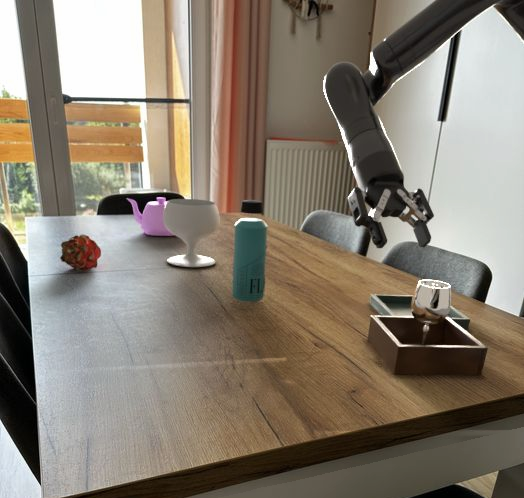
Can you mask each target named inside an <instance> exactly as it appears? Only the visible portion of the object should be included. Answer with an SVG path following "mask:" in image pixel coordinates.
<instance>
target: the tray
mask: <svg viewBox="0 0 524 498" xmlns="http://www.w3.org/2000/svg"><path fill="white" fill-rule="evenodd" d="M412 297H413V294H378V293H376V294H375V293H370V297H369V305H370V306H371V307H372V308H373V310H374V311H376V312H377V314H378V315H379V316H413V315H412V313H411V301H412ZM447 317H449V318H450V319H451V320H453V321H454V322H455V323H456V324H458V325H459V326H460V327H462V328H463V329H464V330H465V331H468V330H469V328H470V323H471V319H470V318H469V317H468V316H466V315H465V314H464V313H463V312H461V311H460V310H459V309H457V308H455V306H452V305H451V306H450V310H449V313H448V316H447Z"/></svg>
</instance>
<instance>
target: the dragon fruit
mask: <svg viewBox="0 0 524 498" xmlns="http://www.w3.org/2000/svg"><path fill="white" fill-rule="evenodd" d="M60 247H61V256H60V257H59V258H60V261H61V262H62V263H65V264H66V265H68V266H69V267H71V268H73V269H74V270H76V271H78V272H83V271H85V270H86V269H87V268H89V269H96V268H97V267H98V259H99V258H101V255H102V250H101V248H100V246H99V245H98V244H97V242H96V241H95V240H94V239H92V238H90V236H89V235H87V234H80V235H74V236H72V237H70V238H69V239H68V240H64V241H62V242H61V244H60Z"/></svg>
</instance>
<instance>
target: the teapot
mask: <svg viewBox="0 0 524 498" xmlns="http://www.w3.org/2000/svg"><path fill="white" fill-rule="evenodd" d="M125 199H126V200H127V201H128V202H130V204H131V206H132V211H133V212H132V213H133V217H134V219H135V221H136V222H137V223H138V224H139V225H140V227H141V229H142V231H143V232H144V234H145V235H148V236H158V237H159V236H160V237H173V236H175V235H174V234H172V233H171V232H169V231H168V230H167V229H166V228H165V226H164V224H163V212H164V208H165V205H166V203H167V200H166V197H163V196H162V197H160V196H159V197H156V200H155V201H148V202H147V203H146V205H145V207H144V209H143V212H142V213H141V212H140V211H139V206H138V203H137V201H136V200H134V199H132V198H128V197H127V198H125Z"/></svg>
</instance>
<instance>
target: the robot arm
mask: <svg viewBox="0 0 524 498" xmlns="http://www.w3.org/2000/svg"><path fill="white" fill-rule="evenodd" d="M492 7H493V8H494V9H495V10H496V12H497V13H498V14H499V15H500V16H501V17H502V18H503V19H504V21H505V22H506V23H507V24H508V25H509V26H510V27H511V28H512V30H514V32H515V33H516V34H517V36H518V37H519V38H520V40H521V41H522V42H523V43H524V0H433V1H432V2H431V3H429V4H428V5H427V6H426V7H424V8H423V9H422V10H420V11H418V13H416V14H415V15H414V16H412V17H411V18H410V19H408V20H407V21H405V22H404V23H403V24H401V25H400V26H399V27H398V28H397V29H395V30H394V31H393V32H391V33H390V34H388V35H387V36H386V37H385V38H383V39H382V40H381V41H380V42H378V43H377V44H376V45H375V46H374V47H372V49H371V51H370V65H369V68H368V69H367V70H366V71H365V72H364V73H362V71H361V69H360V68H359V67H358V66H357V65H356V64H355V63H352V62H350V61H339V62H337V63H335V64H333V65H332V66H331V67H330V68H329V69H328V70H327V71H326V74H325V76H324V80H323V92H324V95H325V98H326V100H327V103H328V105H329V107H330V109H331V111H332V113H333V115H334V118H335V120H336V122H337V124H338V127H339V129H340V132H341V133H340V134H341V137H342V140H343V143H344V145H345V148H346V151H347V155H348V161H349V164H350V167H351V170H352V173H353V176H354V178H355V181H356V184H357V186H355V187H354V188H353V190H352V191H351V193H350V194H349V195H348V197H347V202H348V205H349V208H350V212H351V216H352V219H353V223H354V225H355V226H356V227H358V228H360V227H361V226H362V227H364V228H365V229H366V230H368V233H369V235H370V239H371V241H372V243H373V244H374V246H375V247H376V249H384V247H385V246H386V245H387V243H388V238H387V235H386V233H385V230H384V227H383V224H382V222H381V221H379V220H380V219H381V218H388V217H391V218H398V219H399V220H400V221H401V222H403V223H407V224H408V225H409V226H411V227H412V229H413V230H412V231H413V233H414V235H415V238H416V241H417V243H418V246H419V248H425V247H427V246H428V245H429V244H430V243H431V240H432V235H431V232H430V229H429V227H428V223H429V222H430V221H431V220H432V219H433V218H434V217H435V214H434V212H433V210H432V207H431V205H430V203H429V201H428V199H427V197H426V195H425V193H424V190H423V189H422V188H417V189H416V190H415V191H409V190H408V189H407V188H406V186H405V175H404V172H403V170H402V167H401V163H400V161H399V160H398V156H397V154H396V152H395V148H394V147H393V144H392V142H391V140H390V139H389V137H388V136H387V134H386V130H385V128H384V126H383V123H382V121H381V118H380V117H379V114H378V112H377V111H376V109H375V106H376V105H377V104H378V103H379V102H380V100H382V98H383V97H384V96H385V95H386V94H387V93H388V92H389V91H390V89H391V88H392V87H393V85H395V83H396V82H398V81H399V80H400V79H402V78H403V77H405V76H406V75H407V74H409V73H410V72H411V71H413V70H415V68H417V67H418V66H420V65H421V64H423V63H424V62H425V61H427V59H429V58H430V57H431V56H433V54H435V53H436V52H437V51H438V50H439V49H441V48H442V47H443V46H444V45H445V44H446V43H447V42H448V41H450V40H451V38H453V37H454V36H455V35H456V34H457V33H458V32H460V31H461V30H462V29H463V28H464V27H466V26H467V25H468V24H469V23H471V22H472V21H473V20H474V19H476V18H477V17H479V16H480V15H481V14H483V13H484V12H486V11H488V10H489V9H490V8H492ZM366 205H367V206H369V207H370V211H369V212H368V209H367V206H366ZM407 208H408V209H409V210H408V211H407V213H405V210H406V209H407ZM413 216H414V217H415V218H416V219H415V218H414V217H413Z"/></svg>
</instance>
